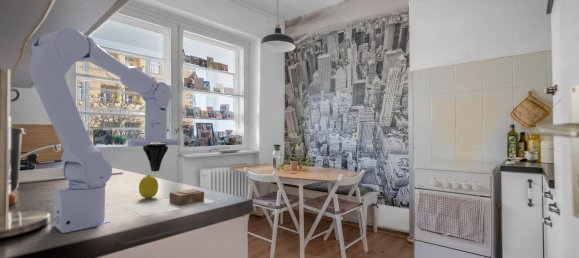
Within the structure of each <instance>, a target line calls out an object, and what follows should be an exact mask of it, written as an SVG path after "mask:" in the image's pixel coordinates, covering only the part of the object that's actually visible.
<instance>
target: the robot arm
mask: <svg viewBox="0 0 579 258" xmlns="http://www.w3.org/2000/svg"><path fill="white" fill-rule="evenodd" d="M30 47H31V50H32V54H31V59H30V65H29V70H28V73H29V76H30V78H31V81H32V83H33V86H34V88H35V90H36V91H37V94H38V97H39V99H40V101H41V103H42V105H43V108H44V109H45V112H46V114H47V116H48V118H49V121H50V122H51V125H52V127H53V130H54V132H55V134H56V136H57V140H58V141H59V142H60V145H61V147H62V150H63V153H62V154H61V156H60V159H61V162H62V175H63V177H64V179H65V180H66V181H68V184H67V185H68V187H67V188H63V189H58V190H56V191H55V194H54V209H53V211H54V216H53V218H54V221H53V227H55V228H56V229H57V230H58V231H59V232H61V233H62V234H66V233H71V232H76V231H81V230H86V229H89V228H95V227H99V225H104V224H110V223H112V221H111V220H109V219H108V218H106V217H105V215H106V186H107V183H108V181H109V180H110V179H111V178H112V174H113V167H112V165H111V163H110V162H109V161H108V160H107V159H105V158H104V156H103V154H102V151H100V149H99V148H97V147H96V146H95V145H94V144H93V143H92V142H91V139H90V136H89V133H88V132H87V130H86V127H85V124H84V122H83V119H82V117H81V115H80V112H79V110H78V107H77V105H76V103H75V100H74V97H73V96H72V93H71V91H70V88H69V86H68V83H67V81H66V78H65V77H66V75H67V73H68V72H69V70H70V69H71V68H72V66H73V65H74V64H75V63H77V62H90V64H91V63H92V64H93V65H95V66H97V67H98V68H101V69H102V70H104V71H107V72H108V73H110V74H112V75H114V76H116V77H118V78H119V80H120V83H121V84H122V85H123V86H125V87H126V88H128V89H130V91H131V90H132V91H133V92H135V93H137V94H138V95H140V96H141V98H142V100H143V101H144V102H145V107H144V108H145V113H144V114H145V116H144V117H145V118H144V138H138V139H137V138H134V139H133V138H132V139H131V138H129V139H127V147H142V150H143V152H144V153H145V155H146V156H147V159H148V162H149V165H150V171H151V172H159V171H160V169H161V164H162V161H163V159H164V157H165V154H166V153H167V152H168V148H169V146H181V138H167V132H168V131H167V126H168V125H167V124H168V121H167V120H168V119H167V118H168V107H169V103H170V100H171V99H172V96H173V92H172V91H171V88H170V86H169V85H168V84H167V83H165V82H161V81H159V82H158V81H157V80H156V79H157V78H155V77H154V76H151V75H148V74H147V73H145V72H144V71H143V68H141V67H140V66H134V65H133V66H127V65H126V64H124V63H123V62H121V61H120V60H119V59H117V58H116V57H115V56H114V55H112V54H111V53H109V52H108V51H106V50H105V49H104V48H102V47H101V46H99V45H98V44H97V43H96V42H95V41H94V38H92V37H89V36H88V35H85V34H84V33H83V32H82V31H80V30H78V29H76V28H73V27H65V28H62V29H60V30H57V31H53V32H49V33H48V32H46V33H42V34H41V35H39V36H38V37H37V38H36V39H35V40H34V41H33V42H32V44H31V46H30Z"/></svg>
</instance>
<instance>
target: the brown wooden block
mask: <svg viewBox="0 0 579 258" xmlns="http://www.w3.org/2000/svg"><path fill="white" fill-rule="evenodd" d="M169 198H170V200H169V203H172V204H175V205H178V206H183V205H188V204H193V203H198V202H203V201H204V198H205V191H203V190H198V189H196V188H190V189H184V190H178V191H171V192H169Z"/></svg>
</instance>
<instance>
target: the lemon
mask: <svg viewBox="0 0 579 258" xmlns="http://www.w3.org/2000/svg"><path fill="white" fill-rule="evenodd" d="M158 190H159V181H158V180H157V178H156V177H154V176H153V175H151V174H147V175H146V176H144V177H142V179H141V180H140V182H139V185H138V192H139V194H140V196H141V197H143V198H145V199H146V200H151V199H152V198H154V197H155V196H156V194H157V193H158Z"/></svg>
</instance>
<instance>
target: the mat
mask: <svg viewBox="0 0 579 258" xmlns="http://www.w3.org/2000/svg"><path fill="white" fill-rule="evenodd" d="M169 200H170V197H169V198H164V199H160V200H159V199H158V200H153V201H147V202H141V203H135V204H129V205H123V206H121V207H122V208H123V209H126V210H128V211H129V212H133V213H135V214H136V215H139V216H141V217H149V216H155V215H158V214H165V213H168V212H169V213H170V212H173V211H178V210H185V209H187V208H188V209H189V208H193V207H198V206H202V205H208V204H212V203H217V201H215V200H212V199H208V198H205V197H204V201H203V202H198V203H193V204H188V205H183V206H178V205H175V204H172V203H169Z"/></svg>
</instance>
